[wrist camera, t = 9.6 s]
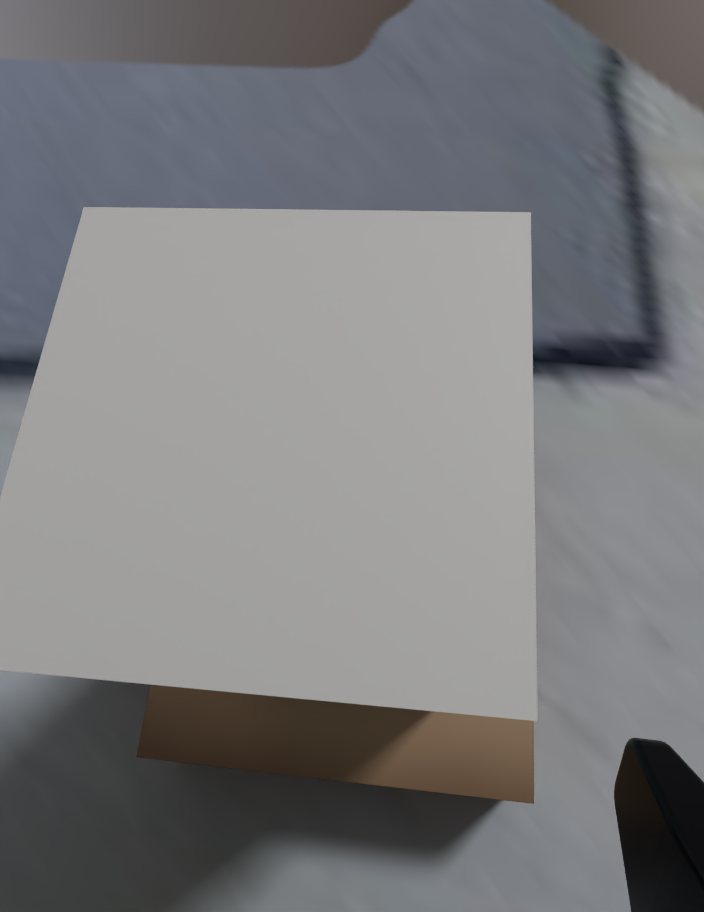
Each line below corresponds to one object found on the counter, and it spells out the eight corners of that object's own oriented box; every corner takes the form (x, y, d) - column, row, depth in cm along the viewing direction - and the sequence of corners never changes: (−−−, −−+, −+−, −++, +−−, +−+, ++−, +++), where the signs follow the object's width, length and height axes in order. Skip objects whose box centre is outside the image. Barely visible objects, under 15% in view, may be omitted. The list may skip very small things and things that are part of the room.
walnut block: (515, 787, 19) (533, 803, 17) (172, 748, 21) (136, 757, 18) (516, 454, 23) (532, 422, 20) (227, 437, 24) (203, 404, 22)
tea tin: (451, 700, 18) (537, 721, 6) (237, 680, 18) (-48, 665, 7) (458, 489, 20) (530, 212, 8) (265, 478, 20) (83, 206, 9)
